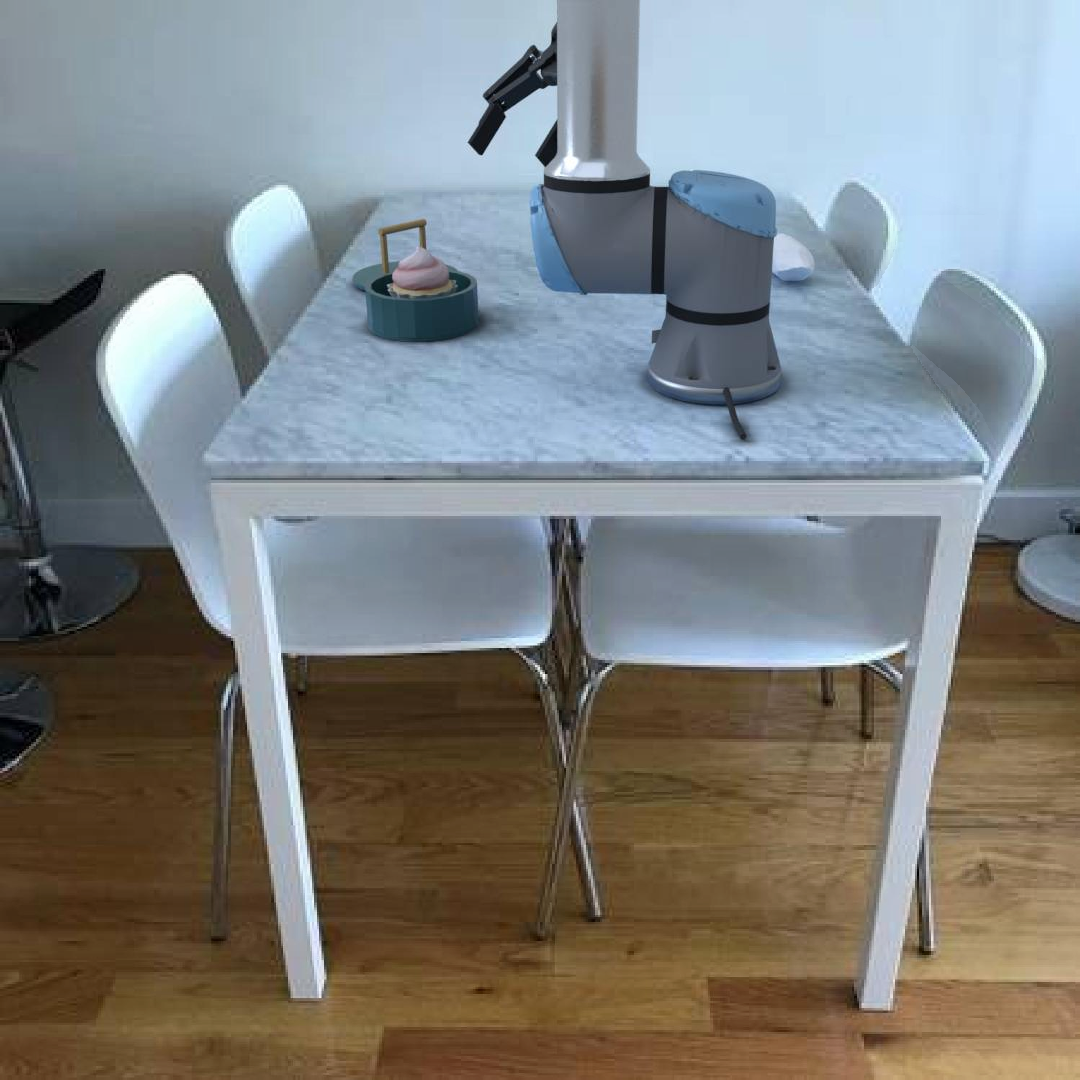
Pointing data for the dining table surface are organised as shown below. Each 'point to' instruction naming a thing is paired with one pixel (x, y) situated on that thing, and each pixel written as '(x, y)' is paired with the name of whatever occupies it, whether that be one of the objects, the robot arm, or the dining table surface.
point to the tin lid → (387, 267)
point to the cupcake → (421, 277)
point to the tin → (422, 311)
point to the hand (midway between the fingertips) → (507, 155)
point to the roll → (791, 259)
